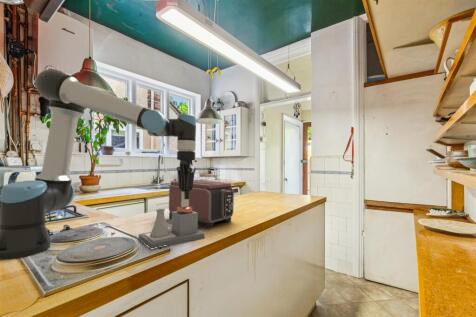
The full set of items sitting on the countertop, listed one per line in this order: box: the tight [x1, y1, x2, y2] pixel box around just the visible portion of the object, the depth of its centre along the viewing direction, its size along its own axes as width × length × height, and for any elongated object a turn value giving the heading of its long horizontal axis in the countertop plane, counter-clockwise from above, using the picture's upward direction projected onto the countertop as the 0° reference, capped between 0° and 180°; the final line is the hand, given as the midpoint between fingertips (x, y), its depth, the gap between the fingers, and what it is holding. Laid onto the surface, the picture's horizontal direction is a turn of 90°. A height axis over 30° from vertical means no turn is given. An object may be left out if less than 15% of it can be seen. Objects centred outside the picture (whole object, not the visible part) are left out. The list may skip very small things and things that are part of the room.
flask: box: [150, 208, 170, 237], centre depth 94 cm, size 7×7×10 cm
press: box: [138, 211, 205, 249], centre depth 97 cm, size 22×14×10 cm, turn 130°
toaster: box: [168, 179, 235, 229], centre depth 127 cm, size 19×36×21 cm, turn 54°
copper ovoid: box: [177, 206, 193, 214], centre depth 100 cm, size 6×6×8 cm
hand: (185, 206), depth 101 cm, fingers closed
